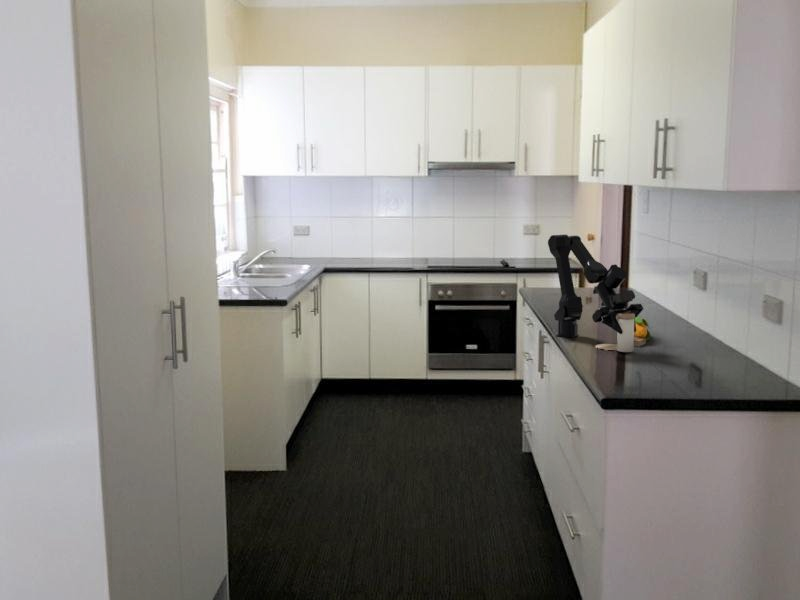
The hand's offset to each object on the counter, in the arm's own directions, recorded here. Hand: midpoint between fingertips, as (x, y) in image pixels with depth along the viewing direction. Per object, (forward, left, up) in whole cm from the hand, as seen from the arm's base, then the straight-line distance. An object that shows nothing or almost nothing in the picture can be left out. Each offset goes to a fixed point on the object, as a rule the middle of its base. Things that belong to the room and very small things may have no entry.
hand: (628, 332), depth 287 cm
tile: (-4, +16, -7) cm, 18 cm away
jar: (-1, +1, -7) cm, 7 cm away
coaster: (-9, +5, -7) cm, 13 cm away
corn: (-6, +26, -8) cm, 27 cm away
